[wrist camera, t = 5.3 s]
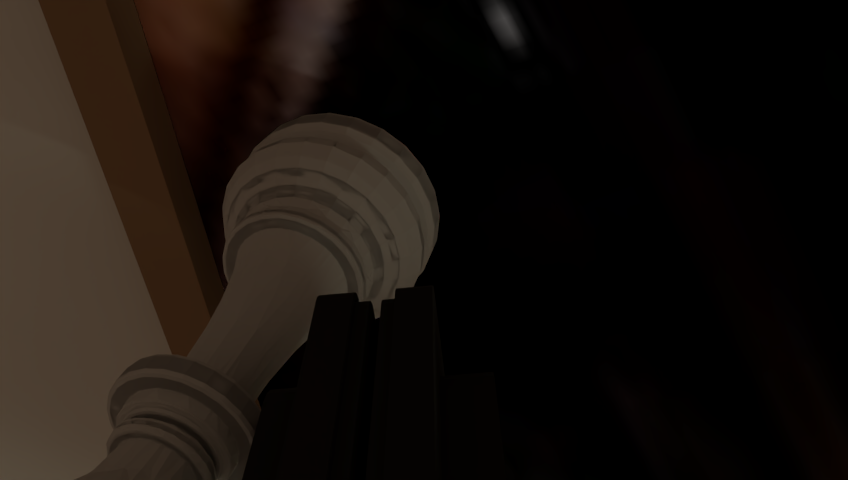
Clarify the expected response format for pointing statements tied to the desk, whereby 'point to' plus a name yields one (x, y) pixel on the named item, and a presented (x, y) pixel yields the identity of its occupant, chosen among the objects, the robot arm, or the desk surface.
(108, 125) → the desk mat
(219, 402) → the chess piece
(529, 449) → the desk surface
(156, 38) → the desk surface
